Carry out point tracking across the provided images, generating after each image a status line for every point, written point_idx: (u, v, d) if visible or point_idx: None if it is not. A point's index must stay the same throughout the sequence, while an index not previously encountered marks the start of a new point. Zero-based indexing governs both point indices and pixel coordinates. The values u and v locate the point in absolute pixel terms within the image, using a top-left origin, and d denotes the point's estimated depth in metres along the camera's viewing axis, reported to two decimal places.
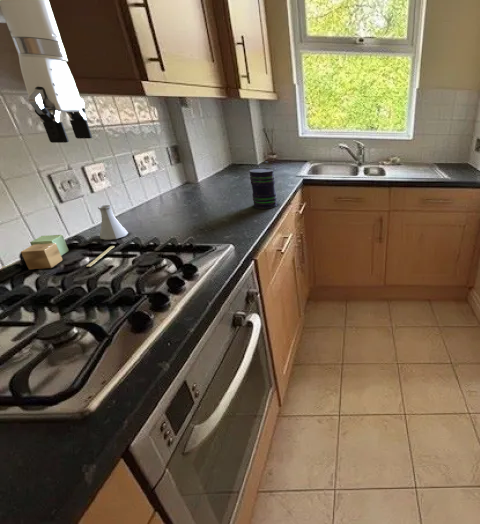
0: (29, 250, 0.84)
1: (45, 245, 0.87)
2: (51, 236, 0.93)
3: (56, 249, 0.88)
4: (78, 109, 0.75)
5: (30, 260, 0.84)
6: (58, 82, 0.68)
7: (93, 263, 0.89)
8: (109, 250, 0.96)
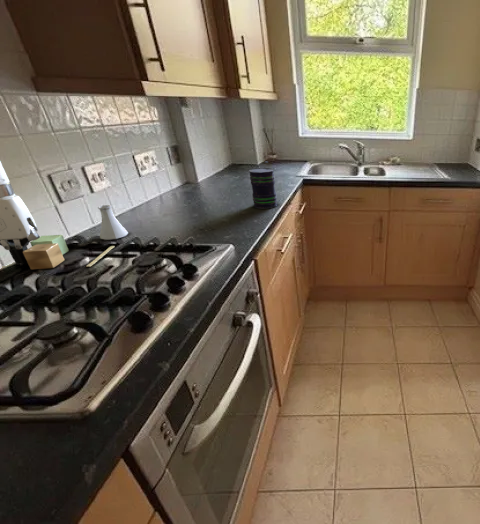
0: (31, 250, 0.84)
1: (47, 245, 0.87)
2: (51, 236, 0.93)
3: (58, 249, 0.88)
4: None
5: (32, 260, 0.84)
6: None
7: (93, 263, 0.89)
8: (109, 250, 0.96)
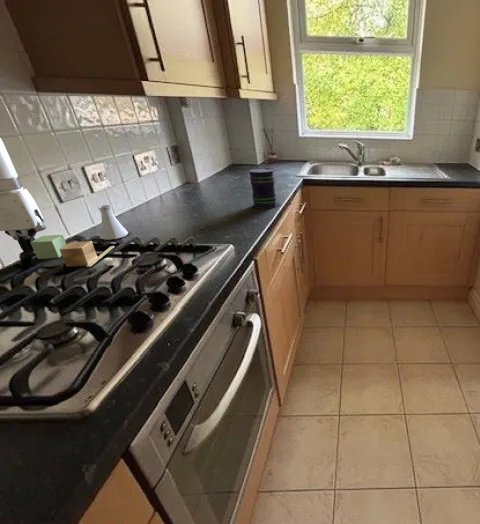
0: (67, 247, 0.86)
1: (82, 243, 0.89)
2: (51, 236, 0.93)
3: (92, 247, 0.90)
4: None
5: (68, 258, 0.86)
6: None
7: (93, 263, 0.89)
8: (109, 250, 0.96)
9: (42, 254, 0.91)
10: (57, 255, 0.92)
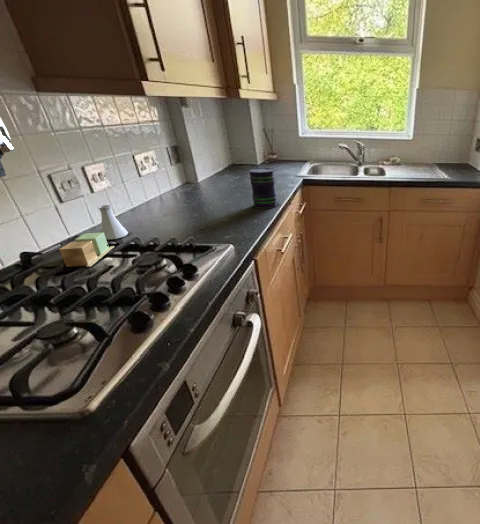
0: (67, 247, 0.86)
1: (82, 243, 0.89)
2: (93, 234, 0.95)
3: (92, 247, 0.90)
4: None
5: (68, 258, 0.86)
6: None
7: (93, 263, 0.89)
8: (109, 250, 0.96)
9: None
10: (99, 252, 0.94)
